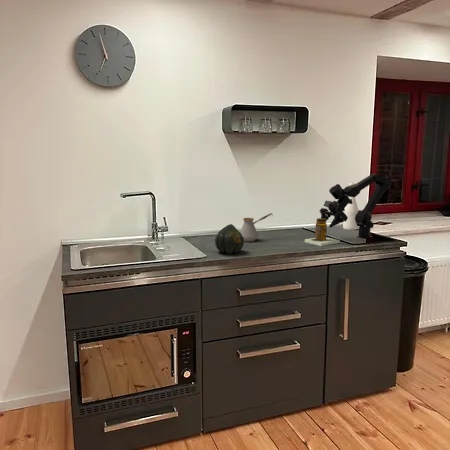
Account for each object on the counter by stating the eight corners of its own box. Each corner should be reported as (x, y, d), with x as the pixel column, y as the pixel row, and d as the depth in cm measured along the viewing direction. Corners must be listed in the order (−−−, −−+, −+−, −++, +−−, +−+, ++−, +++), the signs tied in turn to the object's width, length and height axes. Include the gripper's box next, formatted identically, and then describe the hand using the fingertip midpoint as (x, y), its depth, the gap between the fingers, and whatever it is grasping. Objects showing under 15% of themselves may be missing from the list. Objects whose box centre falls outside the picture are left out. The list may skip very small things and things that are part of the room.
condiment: (329, 240, 243) (330, 219, 241) (318, 242, 239) (318, 220, 237) (320, 238, 250) (321, 217, 248) (309, 240, 245) (309, 218, 243)
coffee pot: (243, 243, 247) (243, 216, 245) (235, 239, 258) (235, 214, 255) (277, 239, 255) (277, 214, 252) (268, 236, 265) (268, 211, 263)
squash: (216, 246, 214) (234, 221, 216) (205, 242, 228) (222, 219, 230) (237, 262, 219) (254, 238, 222) (225, 257, 233) (241, 235, 235)
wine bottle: (343, 230, 283) (345, 183, 278) (342, 227, 292) (343, 182, 287) (359, 230, 281) (360, 183, 276) (357, 227, 290) (358, 182, 286)
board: (322, 239, 255) (322, 236, 254) (339, 242, 244) (339, 240, 243) (304, 242, 247) (304, 239, 247) (321, 246, 236) (321, 243, 236)
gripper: (322, 194, 252) (306, 214, 249) (343, 196, 235) (326, 218, 233) (333, 206, 257) (317, 227, 254) (355, 210, 240) (338, 232, 237)
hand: (324, 225), depth 244 cm, fingers open, 9 cm apart
